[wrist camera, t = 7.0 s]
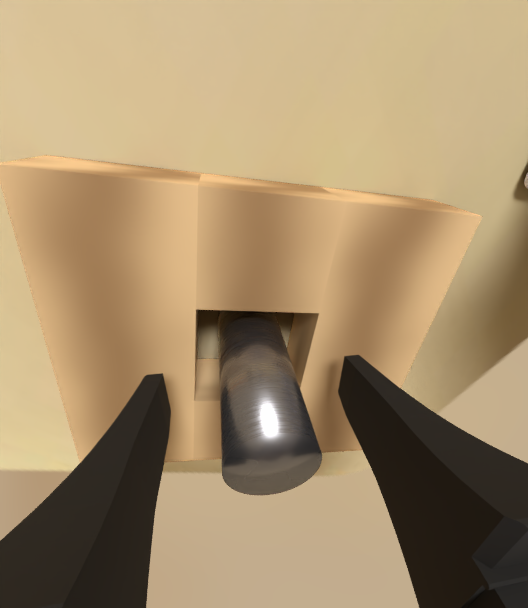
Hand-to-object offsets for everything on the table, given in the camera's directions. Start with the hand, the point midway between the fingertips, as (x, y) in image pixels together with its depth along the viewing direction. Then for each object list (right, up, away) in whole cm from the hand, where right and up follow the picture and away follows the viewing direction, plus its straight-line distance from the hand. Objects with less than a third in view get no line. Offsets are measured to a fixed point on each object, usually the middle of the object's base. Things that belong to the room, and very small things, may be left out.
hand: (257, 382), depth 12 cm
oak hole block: (-1, +2, +4) cm, 4 cm away
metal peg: (-1, +2, +4) cm, 4 cm away
